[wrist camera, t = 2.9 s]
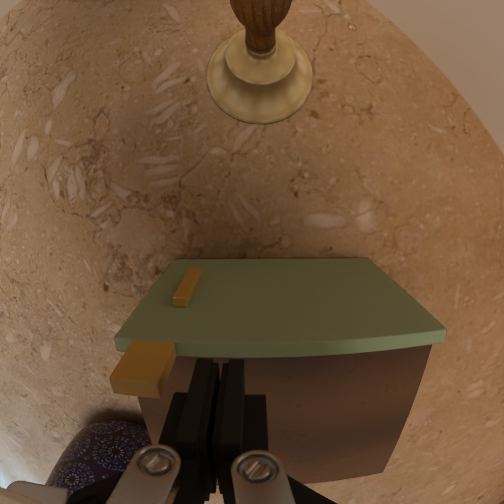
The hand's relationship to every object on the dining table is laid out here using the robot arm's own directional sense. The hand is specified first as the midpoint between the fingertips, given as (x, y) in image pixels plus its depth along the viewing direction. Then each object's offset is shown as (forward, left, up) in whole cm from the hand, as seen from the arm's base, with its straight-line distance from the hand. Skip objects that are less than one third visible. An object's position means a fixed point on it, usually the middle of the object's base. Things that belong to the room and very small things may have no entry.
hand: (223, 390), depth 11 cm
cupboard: (+7, +3, -16) cm, 17 cm away
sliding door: (0, +3, -15) cm, 16 cm away
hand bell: (-15, +2, -16) cm, 22 cm away
